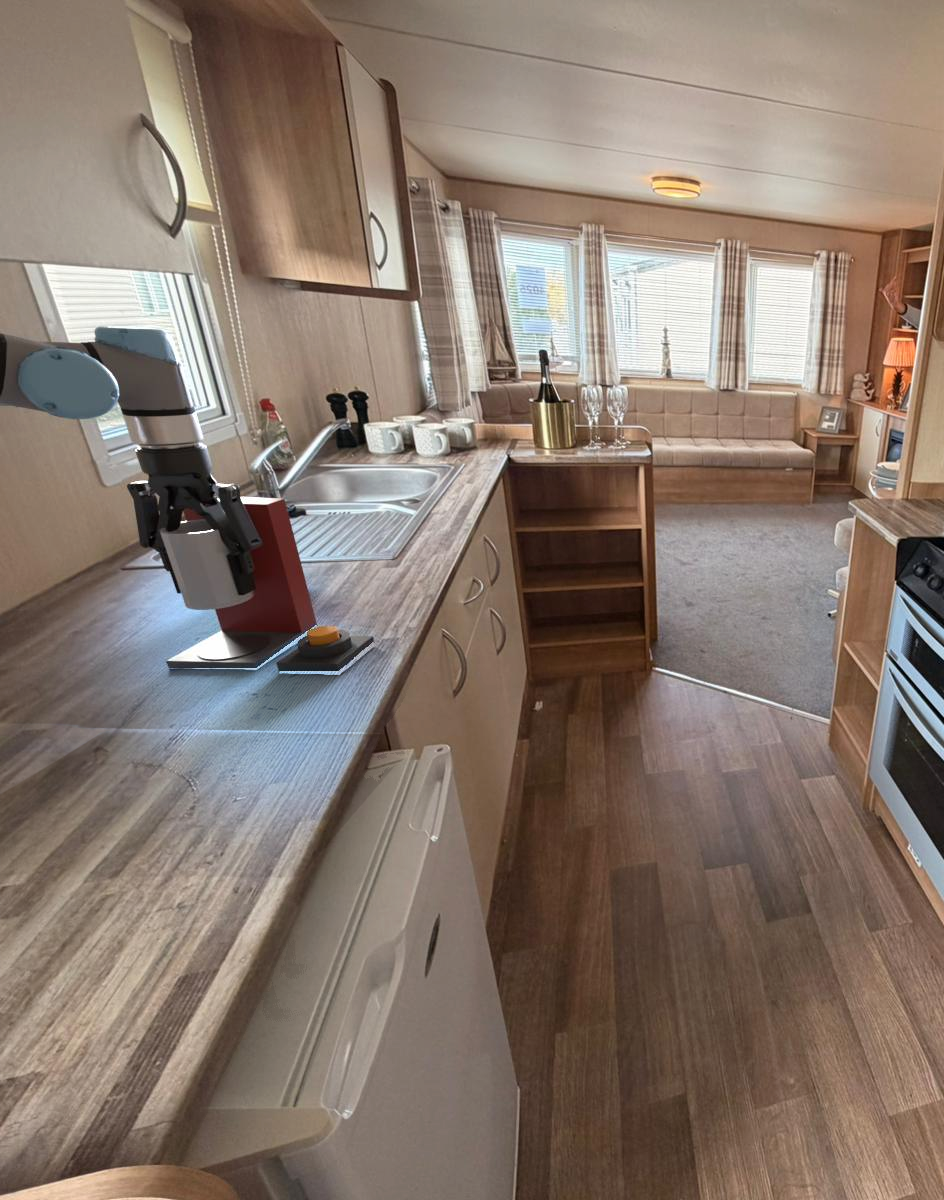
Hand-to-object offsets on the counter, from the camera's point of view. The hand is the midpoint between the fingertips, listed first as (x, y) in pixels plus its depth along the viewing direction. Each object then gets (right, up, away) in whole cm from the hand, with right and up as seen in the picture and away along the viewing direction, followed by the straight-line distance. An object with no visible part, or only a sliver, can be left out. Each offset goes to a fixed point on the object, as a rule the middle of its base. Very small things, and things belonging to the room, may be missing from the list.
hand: (217, 591), depth 99 cm
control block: (+14, -11, +4) cm, 19 cm away
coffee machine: (-1, -9, +7) cm, 12 cm away
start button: (+15, -8, +3) cm, 17 cm away
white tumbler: (0, -1, +1) cm, 1 cm away
